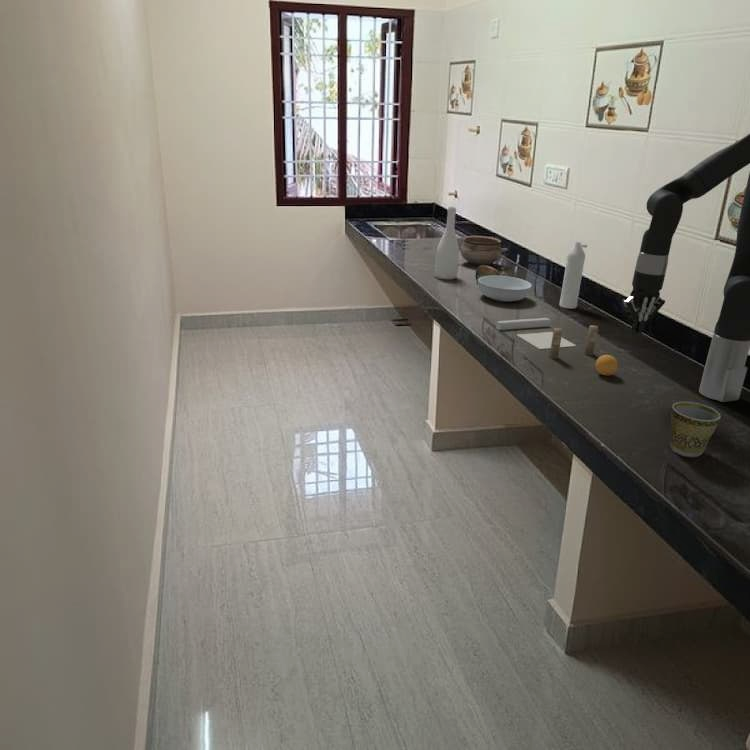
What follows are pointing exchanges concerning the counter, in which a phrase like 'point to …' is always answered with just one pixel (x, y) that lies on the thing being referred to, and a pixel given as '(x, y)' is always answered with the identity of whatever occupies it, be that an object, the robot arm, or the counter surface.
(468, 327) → the counter surface
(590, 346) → the post right
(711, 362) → the robot arm
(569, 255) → the white pump bottle
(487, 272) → the tin
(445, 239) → the wine bottle
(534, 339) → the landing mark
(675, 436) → the ceramic cup
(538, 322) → the wall
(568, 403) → the counter surface
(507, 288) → the serving bowl
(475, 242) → the cooking pot
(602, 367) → the ball
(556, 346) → the post left
